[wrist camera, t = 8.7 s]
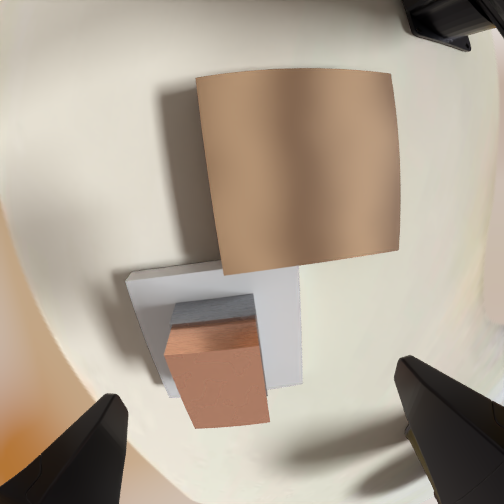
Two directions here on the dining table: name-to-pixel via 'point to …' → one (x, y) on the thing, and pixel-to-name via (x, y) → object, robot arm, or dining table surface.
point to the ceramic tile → (216, 286)
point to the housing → (218, 361)
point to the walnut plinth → (301, 165)
